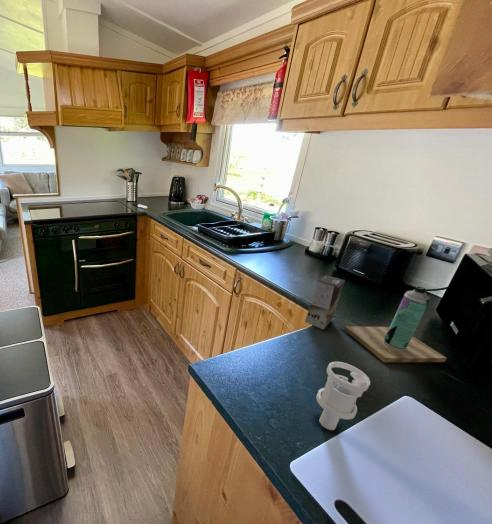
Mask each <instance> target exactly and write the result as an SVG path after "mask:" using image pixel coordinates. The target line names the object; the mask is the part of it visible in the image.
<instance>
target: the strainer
mask: <svg viewBox="0 0 492 524" xmlns="http://www.w3.org/2000/svg"><path fill="white" fill-rule="evenodd" d="M333 368H339V369H343V370H347V371H349V372H350V373H349V375H350V376H351V378H353V379H352V380H351V382H350V381H349V377H348V376H344V375H341V374H337V373H335V372H333V370H332V369H333ZM326 374H327V377H326V378H327V380H326V382H325V385H324V387H322V388H320V389H318V392H317V394H316V397H315V398H316V402H317V404H318V405H319V406H320V407H321V408H322V409H323V411H322V412H321V415H320V417H319V418H318V419H319V424H320V425H321V426H322V427H323V428H325V429H326V430H329V431H335V430H336V428H337V426H338V424H339V421H340V420H353V419H355V417H356V415H357V413H358V407H357V405H356V403H357V400H358V398H361V397H362V396H363V393H364V392H366V391H368V389H369V387H370V386H371V380H370V377H369V376H368V375H367V374H366V373H365V372H364V371H362V370H361V369H359V368H357V366H354V365H352V364H349V363H347V362H343V361H331V362H329V364H328V365H327V368H326Z"/></svg>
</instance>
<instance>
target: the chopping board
mask: <svg viewBox="0 0 492 524" xmlns="http://www.w3.org/2000/svg"><path fill="white" fill-rule="evenodd" d="M389 328H390V326H353V325H350V326H349V325H348V326H347V325H345V327H344V329H343V331H344V332H346V333H347V334H348V335H349V336H351V338H353V339H354V340H356V341H357V342H358V343H359V344H361V345H362V346H363V347H364V348H366V349H367V350H368V351H369V352H371V354H373V355H374V356H375V357H377V358H378V359H379V360H380V361H382V362H383V363H445V362H446V361H447V359H448V358H447V357H446V356H445V355H443V354H442V353H440V352H438V351H437V350H435V349H433V348H432V347H431V346H429V345H427V344H426V343H424V342H423V341H421V340H420V339H418V338H416V337H414V335H413V336H412V338H411V340H410V342H409V344H408V346H407V348H406V350H405V351H399V350H395V349H392V348H390V347H388V346H387V345H386V344H385V343H384V342H383V341H384V339H385V336H386V334H387V332H388V330H389Z"/></svg>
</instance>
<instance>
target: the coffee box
mask: <svg viewBox="0 0 492 524" xmlns="http://www.w3.org/2000/svg"><path fill="white" fill-rule="evenodd" d="M345 283H346V280H345V279H341V278H338V277H334V276H331V275H328V274H325V275H324V276H322V277H321V278H319V280H317V283H316V286H315V289H314V292H313V295H312V298H311V301H310V304H309V307H308V310H307V314H306V316H305V319H304V323H306V324H308V325H311V326H313V327H316V328H319V329H321V330H325V329H326V327H327V326H328V325H329V324H330V323H331V322H332V319H333V317H334V314H335V311H336V308H337V306H338V302H339V300H340V297H341V295H342V292H343V289H344V286H345Z"/></svg>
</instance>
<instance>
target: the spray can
mask: <svg viewBox="0 0 492 524" xmlns="http://www.w3.org/2000/svg"><path fill="white" fill-rule="evenodd" d="M430 300H431V297H430V296H428V295H427V292H426V287H423V286H417V287H416V288H415V289H413V290H407V291H406V292H405V293H404V295H403V297H402V299H401V301H400V304H399V306H398V308H397V310H396V312H395V315H394V317H393V319H392V321H391V323H390V326H389V327H390V328H389V330H388V332H387V334H386V336H385V339H384V341H383V342H384V343H385V344H386V345H387V346H388V347H390V348H392V349H395V350H399V351H405V350H406V348H407V346H408V344H409V342H410V340H411V338H412V336H413V337H414V334H415V332H416V330H417V328H418V326H419V324H420V322H421V320H422V318H423V316H424V314H425V312H426V310H427V308H428V306H429V304H430Z"/></svg>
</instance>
